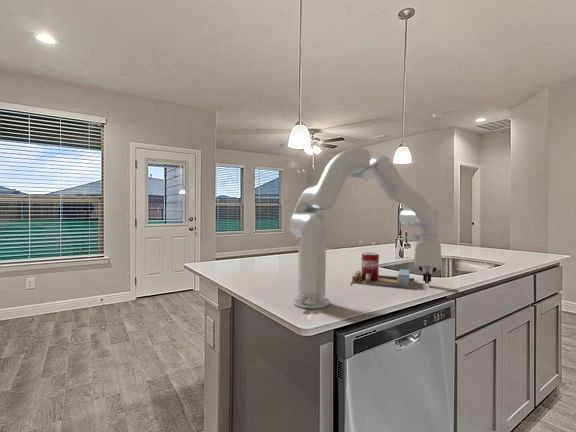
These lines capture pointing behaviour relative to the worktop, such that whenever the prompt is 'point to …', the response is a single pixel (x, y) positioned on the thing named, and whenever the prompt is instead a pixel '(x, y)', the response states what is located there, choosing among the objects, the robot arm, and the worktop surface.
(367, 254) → the soda can
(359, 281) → the board
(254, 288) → the worktop surface
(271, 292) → the worktop surface
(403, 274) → the jaw
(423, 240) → the robot arm
